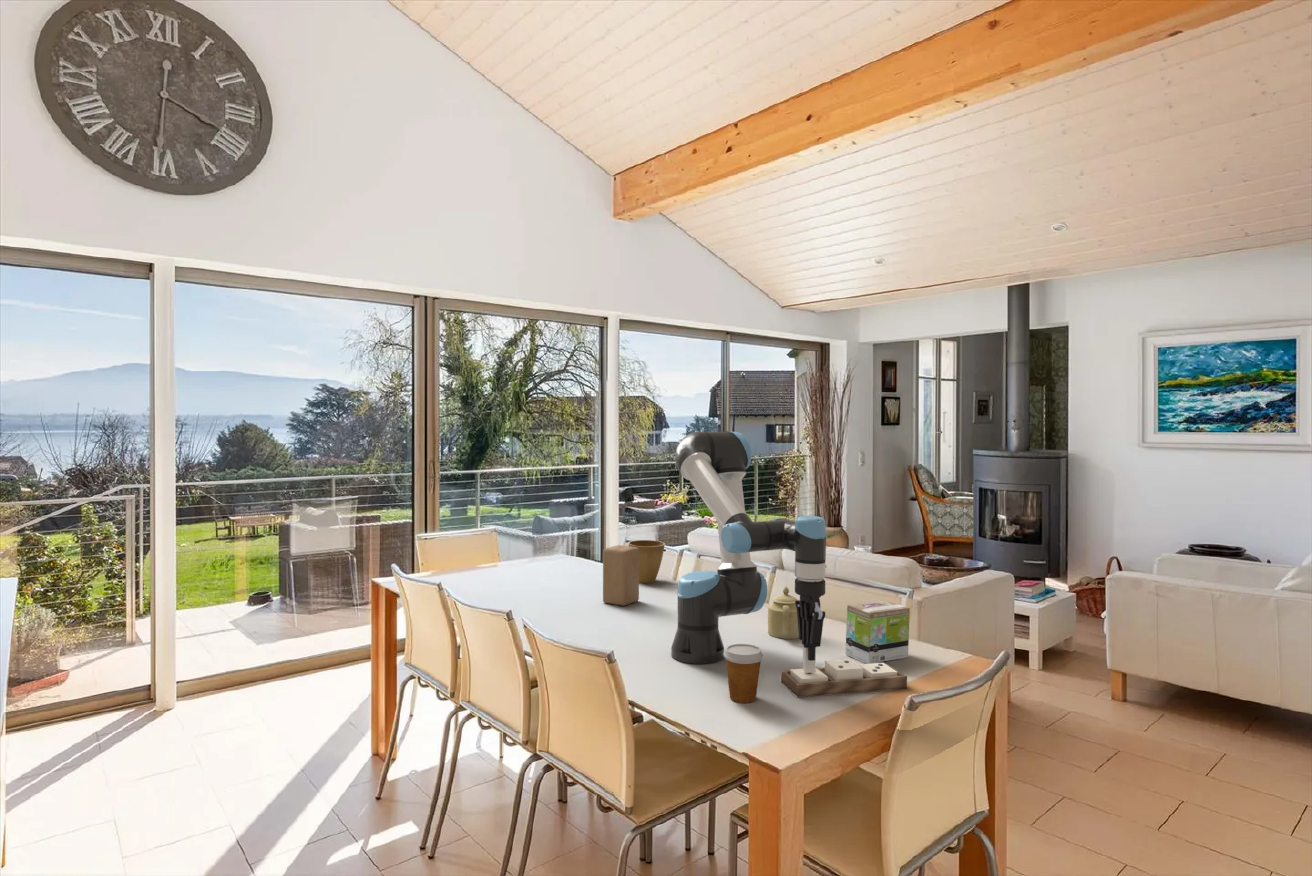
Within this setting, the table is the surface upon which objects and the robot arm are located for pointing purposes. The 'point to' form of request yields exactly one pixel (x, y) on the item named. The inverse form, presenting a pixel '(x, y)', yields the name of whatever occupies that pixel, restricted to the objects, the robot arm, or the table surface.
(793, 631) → the beige teapot
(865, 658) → the tea box
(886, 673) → the tile
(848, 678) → the tile
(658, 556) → the plant pot
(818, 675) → the tile
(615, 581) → the block
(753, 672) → the disposable coffee cup
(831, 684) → the board
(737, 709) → the table surface
